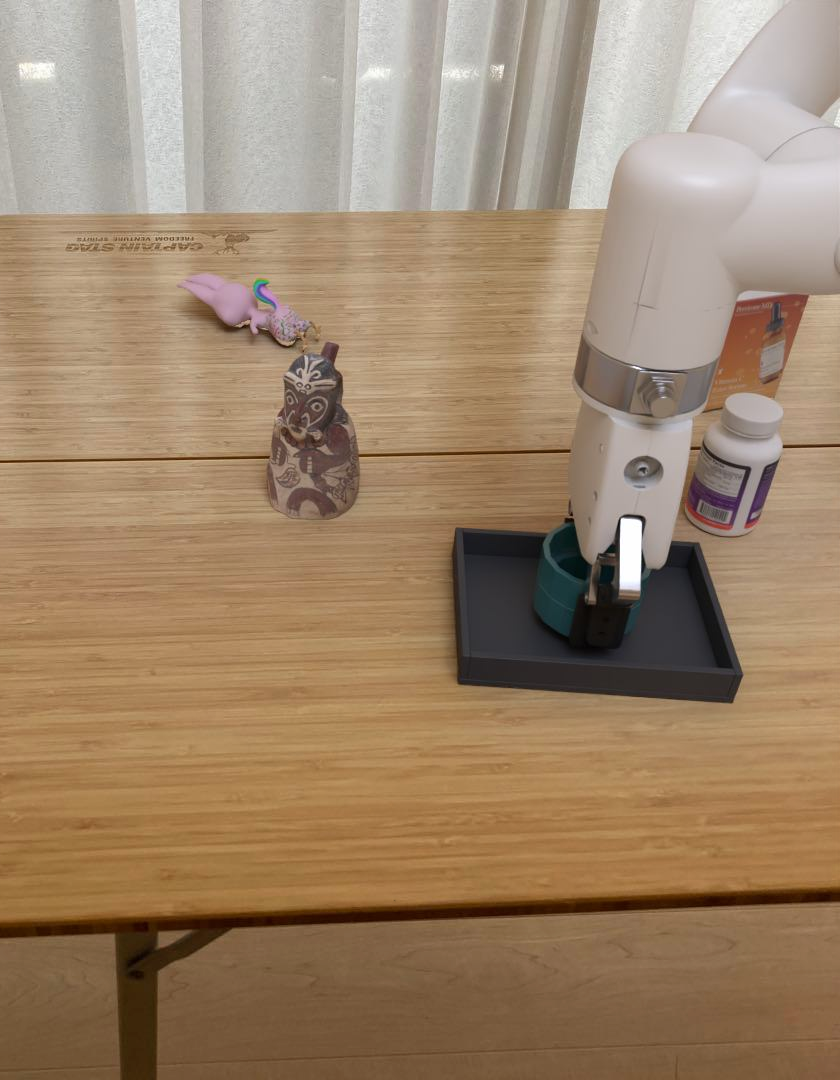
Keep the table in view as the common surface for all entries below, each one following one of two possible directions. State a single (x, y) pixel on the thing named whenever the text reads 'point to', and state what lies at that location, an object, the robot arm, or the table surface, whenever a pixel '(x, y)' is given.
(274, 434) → the figurine
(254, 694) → the table surface
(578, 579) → the cup
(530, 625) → the tray
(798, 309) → the small box
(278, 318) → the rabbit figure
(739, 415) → the pill bottle
